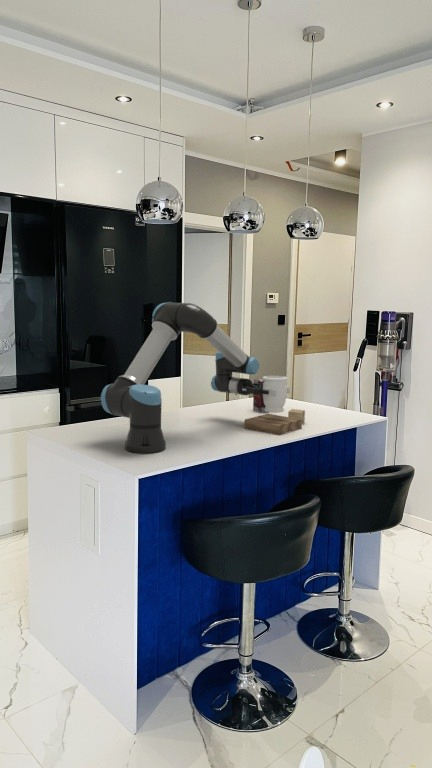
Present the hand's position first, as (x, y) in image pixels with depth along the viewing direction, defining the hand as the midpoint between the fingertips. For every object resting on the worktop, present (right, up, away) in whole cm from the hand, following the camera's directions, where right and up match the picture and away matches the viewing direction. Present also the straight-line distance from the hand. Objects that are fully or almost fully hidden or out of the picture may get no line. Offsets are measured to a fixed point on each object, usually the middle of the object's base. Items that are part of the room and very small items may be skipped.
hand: (282, 391), depth 259 cm
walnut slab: (-4, -16, +5) cm, 17 cm away
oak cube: (+8, -15, +16) cm, 23 cm away
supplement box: (-6, -11, +43) cm, 44 cm away
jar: (-3, -9, +4) cm, 10 cm away
